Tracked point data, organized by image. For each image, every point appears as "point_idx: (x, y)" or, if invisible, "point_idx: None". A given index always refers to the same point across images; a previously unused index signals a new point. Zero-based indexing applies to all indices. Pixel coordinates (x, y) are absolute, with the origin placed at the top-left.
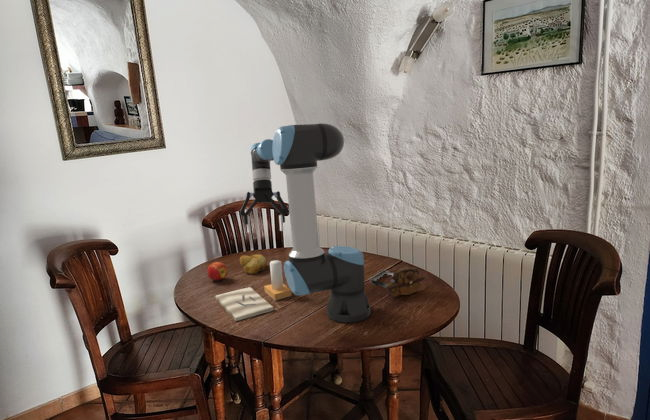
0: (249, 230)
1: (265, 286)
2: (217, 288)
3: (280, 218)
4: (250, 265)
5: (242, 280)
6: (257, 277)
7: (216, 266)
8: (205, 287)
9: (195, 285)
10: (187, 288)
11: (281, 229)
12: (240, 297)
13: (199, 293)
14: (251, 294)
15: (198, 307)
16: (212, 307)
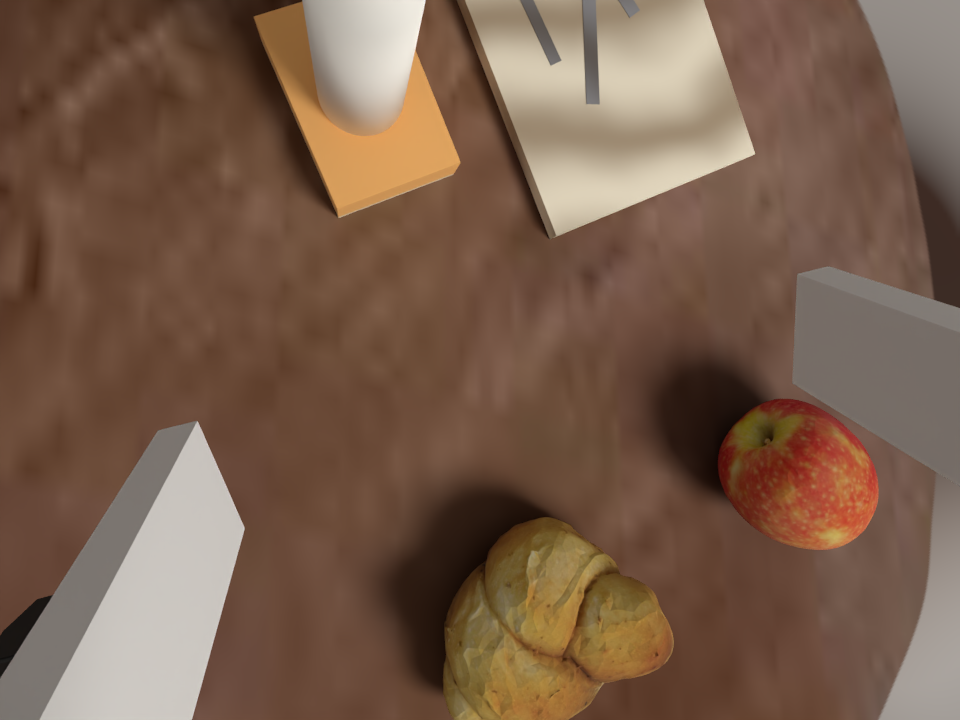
0: (838, 279)
1: (451, 149)
2: (745, 319)
3: (108, 652)
4: (574, 543)
5: (603, 420)
6: (505, 455)
7: (835, 440)
8: None
9: None
10: None
11: (195, 441)
12: (609, 69)
13: None
14: (542, 96)
15: (820, 61)
16: (750, 33)
